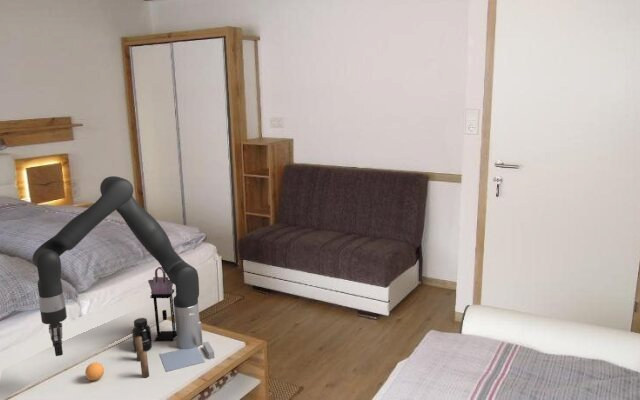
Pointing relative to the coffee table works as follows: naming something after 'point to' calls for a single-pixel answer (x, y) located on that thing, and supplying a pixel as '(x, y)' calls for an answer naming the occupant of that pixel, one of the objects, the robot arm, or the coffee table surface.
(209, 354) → the wall
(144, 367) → the post
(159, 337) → the handbag on black stand
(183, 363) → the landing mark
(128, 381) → the coffee table surface
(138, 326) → the supplement bottle
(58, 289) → the robot arm
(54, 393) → the coffee table surface
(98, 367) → the ball
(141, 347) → the post
